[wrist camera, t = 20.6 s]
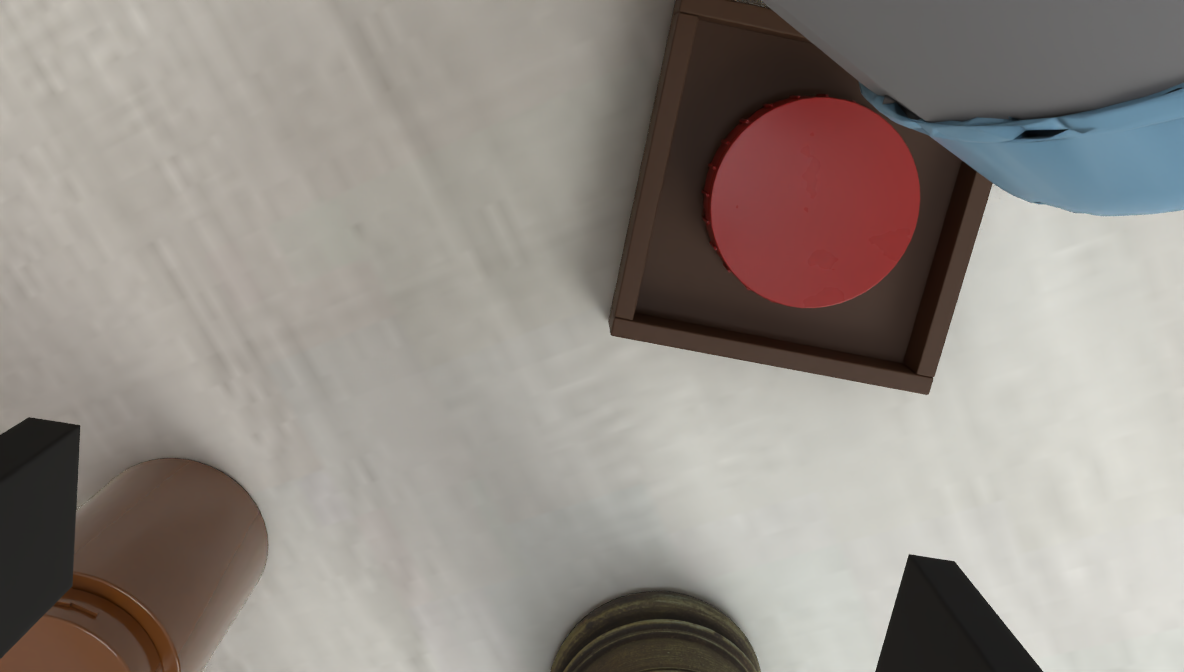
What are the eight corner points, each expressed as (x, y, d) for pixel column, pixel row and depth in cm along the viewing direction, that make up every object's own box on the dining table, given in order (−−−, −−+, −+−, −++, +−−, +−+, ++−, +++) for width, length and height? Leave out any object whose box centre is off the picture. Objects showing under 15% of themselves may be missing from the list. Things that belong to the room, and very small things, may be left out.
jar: (97, 443, 37) (-82, 579, 27) (278, 474, 38) (169, 619, 28) (85, 602, 39) (-88, 787, 29) (258, 630, 40) (149, 821, 29)
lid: (870, 316, 36) (886, 328, 34) (680, 276, 36) (686, 286, 34) (929, 119, 34) (949, 121, 33) (729, 73, 34) (738, 73, 32)
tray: (676, -5, 34) (683, -11, 32) (1003, 64, 34) (1029, 63, 32) (608, 322, 37) (610, 335, 35) (910, 379, 37) (929, 395, 35)
